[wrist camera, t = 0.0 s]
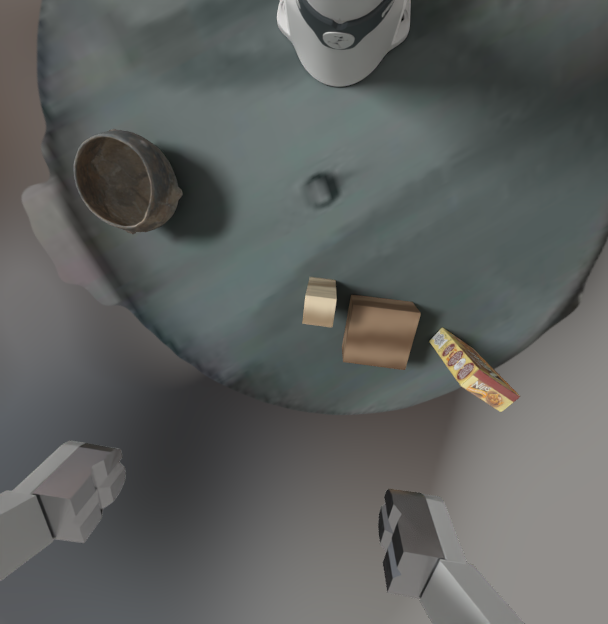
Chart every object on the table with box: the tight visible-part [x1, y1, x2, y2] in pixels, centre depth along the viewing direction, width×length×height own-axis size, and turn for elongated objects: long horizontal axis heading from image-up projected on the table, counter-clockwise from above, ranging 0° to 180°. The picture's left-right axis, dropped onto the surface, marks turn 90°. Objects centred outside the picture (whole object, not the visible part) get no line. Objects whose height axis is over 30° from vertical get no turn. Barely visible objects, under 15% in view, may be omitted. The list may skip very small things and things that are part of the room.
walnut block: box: [342, 295, 421, 370], centre depth 56 cm, size 12×12×6 cm
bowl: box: [74, 129, 183, 234], centre depth 47 cm, size 14×15×10 cm
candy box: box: [429, 328, 520, 412], centre depth 51 cm, size 9×4×15 cm, turn 58°
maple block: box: [302, 277, 337, 327], centre depth 51 cm, size 5×5×11 cm
